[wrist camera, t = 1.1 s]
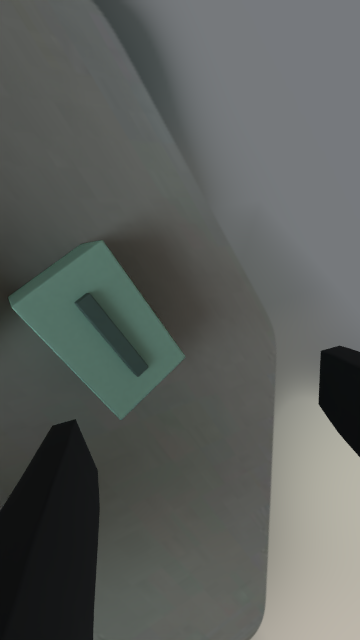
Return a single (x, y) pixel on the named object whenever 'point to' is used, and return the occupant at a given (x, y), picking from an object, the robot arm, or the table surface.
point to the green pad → (99, 326)
